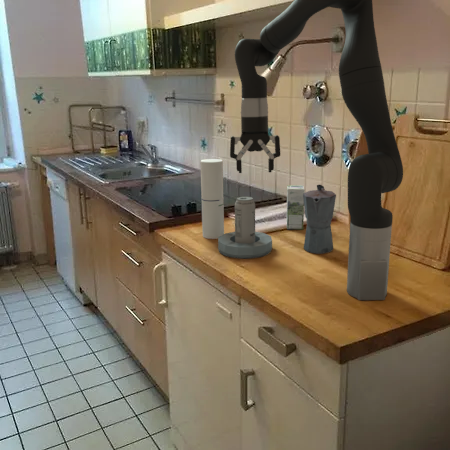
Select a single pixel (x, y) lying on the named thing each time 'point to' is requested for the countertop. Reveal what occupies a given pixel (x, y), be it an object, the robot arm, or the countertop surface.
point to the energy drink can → (244, 220)
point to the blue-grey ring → (244, 246)
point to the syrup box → (295, 207)
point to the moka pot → (319, 220)
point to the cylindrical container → (212, 198)
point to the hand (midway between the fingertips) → (255, 172)
